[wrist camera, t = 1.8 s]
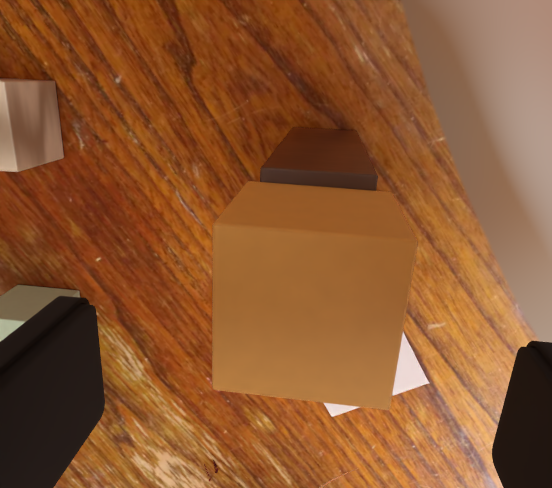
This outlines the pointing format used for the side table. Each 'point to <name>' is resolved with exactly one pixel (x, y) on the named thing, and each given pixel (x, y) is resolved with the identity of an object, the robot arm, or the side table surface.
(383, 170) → the side table surface
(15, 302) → the block
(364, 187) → the stand
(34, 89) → the block
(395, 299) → the orange cube
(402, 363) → the white rectangular block
